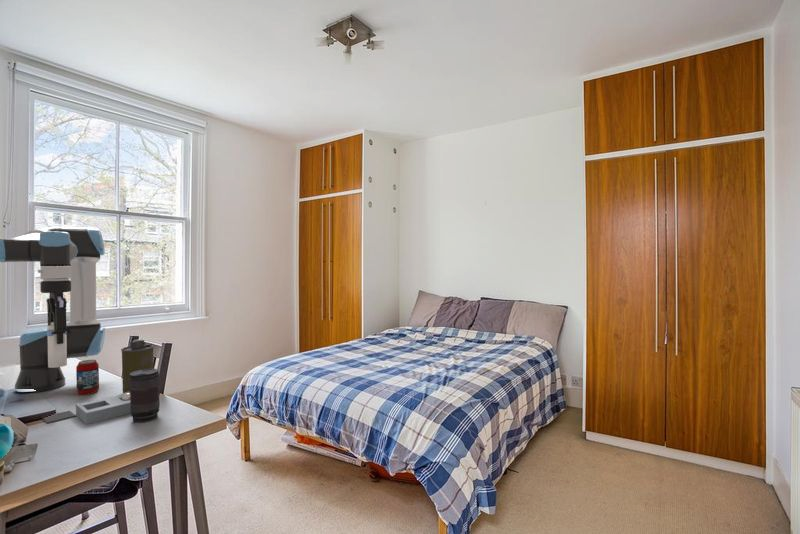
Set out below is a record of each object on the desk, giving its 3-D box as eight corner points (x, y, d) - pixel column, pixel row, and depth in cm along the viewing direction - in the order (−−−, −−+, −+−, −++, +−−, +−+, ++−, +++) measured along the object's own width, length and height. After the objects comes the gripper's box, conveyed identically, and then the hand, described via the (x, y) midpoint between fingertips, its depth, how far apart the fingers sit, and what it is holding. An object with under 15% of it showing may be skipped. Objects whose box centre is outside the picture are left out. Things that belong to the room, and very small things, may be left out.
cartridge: (46, 366, 129) (45, 322, 129) (65, 363, 133) (64, 320, 133) (49, 368, 126) (48, 323, 126) (68, 365, 130) (68, 322, 130)
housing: (76, 415, 132) (75, 404, 132) (132, 401, 144) (132, 391, 144) (86, 424, 124) (86, 413, 124) (145, 409, 137) (144, 399, 137)
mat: (42, 418, 130) (42, 416, 130) (69, 411, 135) (69, 410, 135) (47, 423, 125) (47, 422, 125) (75, 416, 131) (75, 415, 131)
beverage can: (77, 396, 150) (76, 364, 150) (76, 392, 155) (75, 361, 155) (100, 392, 154) (99, 361, 154) (98, 388, 160) (97, 358, 159)
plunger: (120, 405, 138) (120, 393, 138) (132, 402, 141) (132, 390, 141) (124, 407, 136) (124, 395, 136) (136, 404, 138) (136, 392, 138)
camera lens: (132, 416, 131) (131, 369, 131) (161, 412, 134) (160, 367, 134) (127, 425, 123) (126, 376, 123) (157, 421, 127) (157, 373, 126)
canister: (138, 398, 148) (137, 343, 147) (114, 396, 150) (113, 342, 149) (161, 389, 158) (161, 338, 158) (139, 387, 160) (138, 337, 160)
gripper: (34, 279, 132) (36, 351, 132) (46, 281, 121) (48, 359, 121) (64, 278, 138) (65, 347, 138) (78, 280, 127) (79, 354, 127)
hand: (57, 352), depth 130 cm, fingers closed on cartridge, 5 cm apart
